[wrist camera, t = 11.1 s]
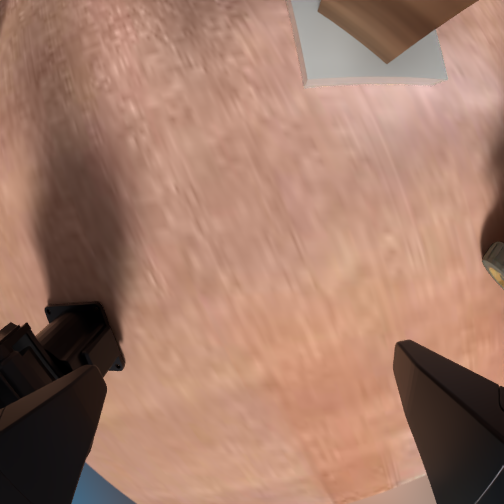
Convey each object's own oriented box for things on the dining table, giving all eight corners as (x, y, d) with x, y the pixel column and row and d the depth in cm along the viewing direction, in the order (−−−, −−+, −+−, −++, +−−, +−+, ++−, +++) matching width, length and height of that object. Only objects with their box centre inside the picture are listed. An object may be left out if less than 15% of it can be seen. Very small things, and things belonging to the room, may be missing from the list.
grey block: (302, 90, 18) (307, 79, 15) (279, -21, 16) (279, -42, 13) (427, 87, 17) (447, 79, 14) (398, -18, 15) (412, -36, 12)
